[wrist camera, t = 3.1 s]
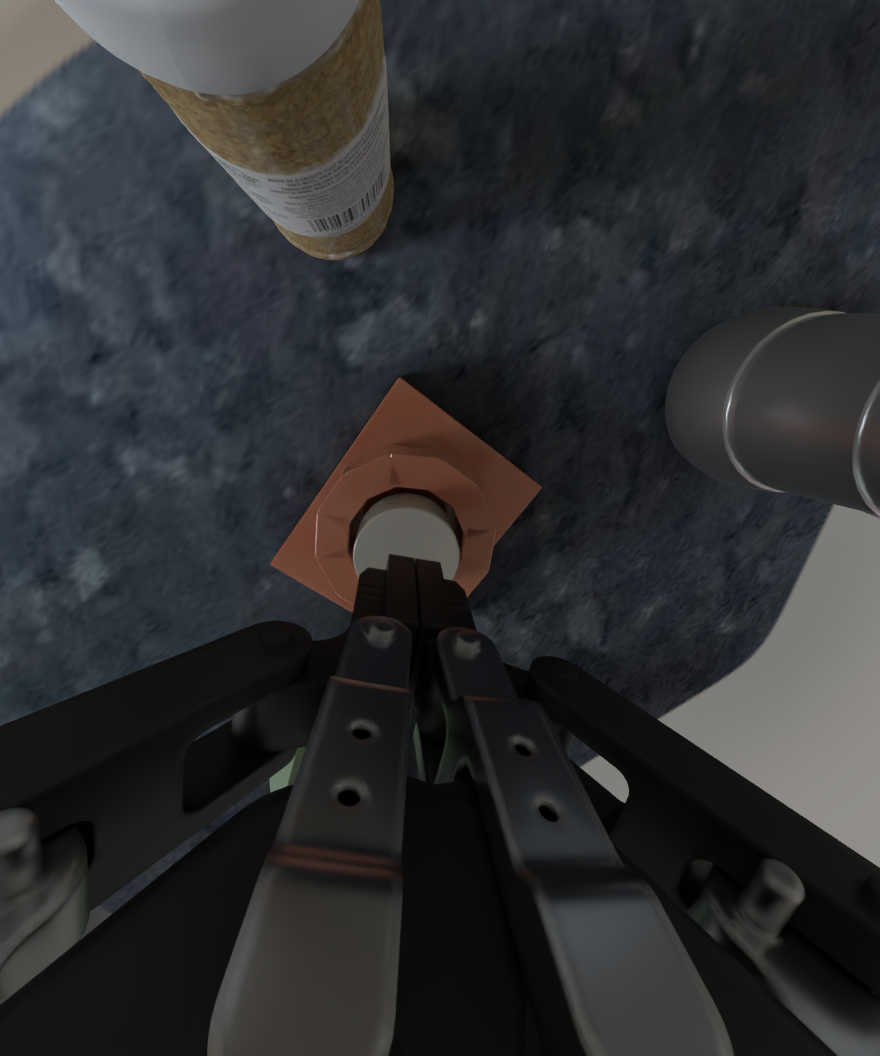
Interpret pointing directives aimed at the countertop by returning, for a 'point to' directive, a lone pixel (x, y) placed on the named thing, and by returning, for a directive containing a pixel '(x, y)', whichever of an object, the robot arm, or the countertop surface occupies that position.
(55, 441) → the countertop surface
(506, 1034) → the robot arm
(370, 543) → the push button
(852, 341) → the grey bottle
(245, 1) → the sprinkles bottle
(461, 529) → the orange button pad
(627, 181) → the countertop surface
